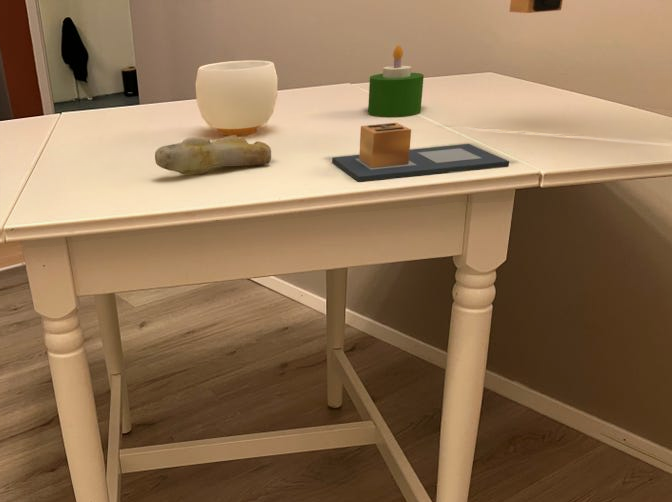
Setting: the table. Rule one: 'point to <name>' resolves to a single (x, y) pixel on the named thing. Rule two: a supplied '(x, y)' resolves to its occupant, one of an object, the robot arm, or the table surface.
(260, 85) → the cup
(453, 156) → the word mat
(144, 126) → the table surface
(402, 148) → the tile
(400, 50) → the candle
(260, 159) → the figurine
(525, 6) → the tile
